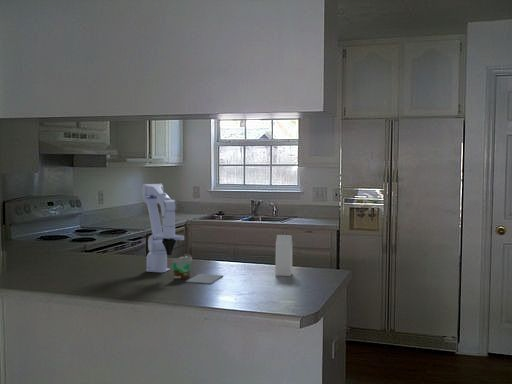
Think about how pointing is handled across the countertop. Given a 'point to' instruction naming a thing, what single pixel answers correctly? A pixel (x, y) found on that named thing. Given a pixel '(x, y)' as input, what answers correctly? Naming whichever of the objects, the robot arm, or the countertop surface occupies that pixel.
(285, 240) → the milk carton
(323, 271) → the countertop surface
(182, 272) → the food container
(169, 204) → the robot arm
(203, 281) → the mat
